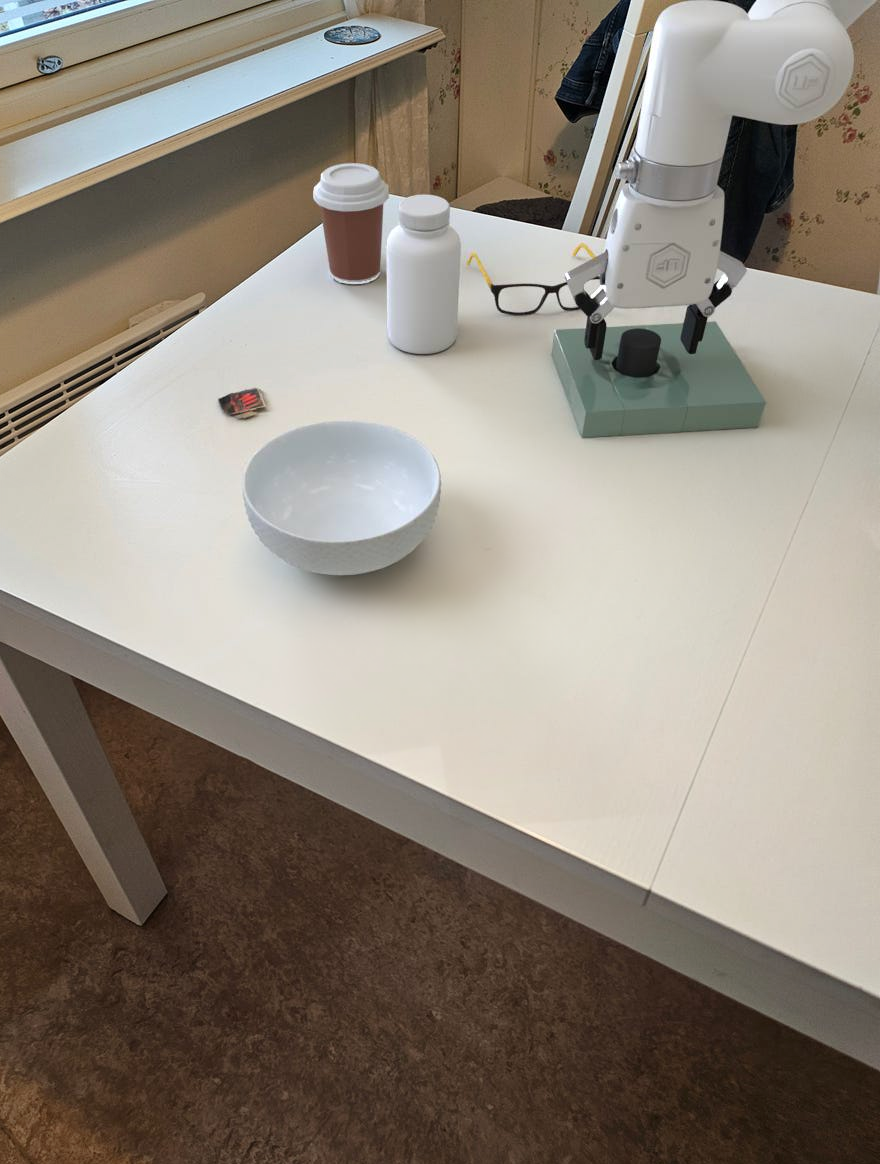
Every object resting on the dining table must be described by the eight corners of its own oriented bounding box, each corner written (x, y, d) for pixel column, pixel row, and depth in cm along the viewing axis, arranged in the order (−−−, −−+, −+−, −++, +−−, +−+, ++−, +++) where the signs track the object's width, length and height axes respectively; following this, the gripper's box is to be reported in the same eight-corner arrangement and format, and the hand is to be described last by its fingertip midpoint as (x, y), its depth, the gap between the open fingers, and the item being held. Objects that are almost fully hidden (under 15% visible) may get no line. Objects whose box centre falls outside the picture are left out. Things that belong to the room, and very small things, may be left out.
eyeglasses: (491, 320, 106) (493, 288, 103) (466, 265, 115) (467, 234, 112) (608, 309, 107) (614, 277, 104) (573, 256, 117) (578, 225, 114)
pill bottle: (446, 361, 100) (449, 224, 89) (378, 350, 102) (373, 214, 91) (465, 327, 105) (471, 193, 94) (400, 316, 107) (398, 184, 96)
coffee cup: (364, 297, 110) (359, 195, 101) (305, 279, 114) (295, 179, 105) (404, 267, 115) (403, 168, 106) (347, 251, 119) (341, 154, 110)
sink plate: (709, 345, 101) (715, 321, 99) (758, 427, 90) (766, 401, 88) (551, 354, 100) (554, 329, 98) (581, 437, 90) (585, 412, 87)
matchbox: (213, 402, 95) (212, 398, 94) (256, 386, 97) (256, 382, 96) (233, 423, 92) (233, 419, 92) (277, 406, 94) (277, 402, 94)
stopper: (644, 378, 97) (655, 327, 92) (654, 399, 94) (666, 347, 90) (607, 381, 97) (616, 329, 92) (616, 401, 94) (626, 349, 90)
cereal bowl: (457, 592, 75) (460, 527, 70) (258, 618, 73) (246, 553, 68) (421, 470, 86) (421, 407, 81) (247, 490, 85) (236, 426, 80)
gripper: (586, 195, 76) (564, 375, 89) (786, 184, 77) (736, 364, 90) (569, 162, 82) (550, 337, 94) (756, 152, 82) (712, 327, 95)
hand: (641, 350), depth 92 cm, fingers open, 9 cm apart
